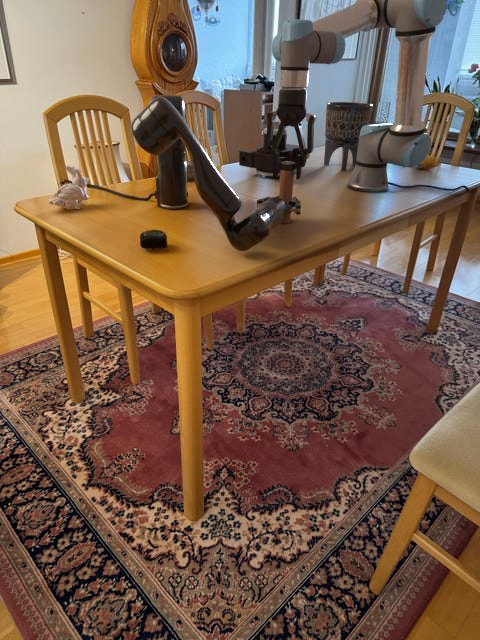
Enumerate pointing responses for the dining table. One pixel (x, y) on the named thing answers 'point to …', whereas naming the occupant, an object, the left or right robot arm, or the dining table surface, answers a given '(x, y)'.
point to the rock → (189, 171)
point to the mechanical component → (263, 156)
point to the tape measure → (153, 239)
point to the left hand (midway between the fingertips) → (287, 199)
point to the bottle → (286, 188)
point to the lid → (287, 165)
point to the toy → (429, 163)
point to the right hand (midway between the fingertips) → (286, 176)
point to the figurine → (71, 191)
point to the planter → (345, 128)
